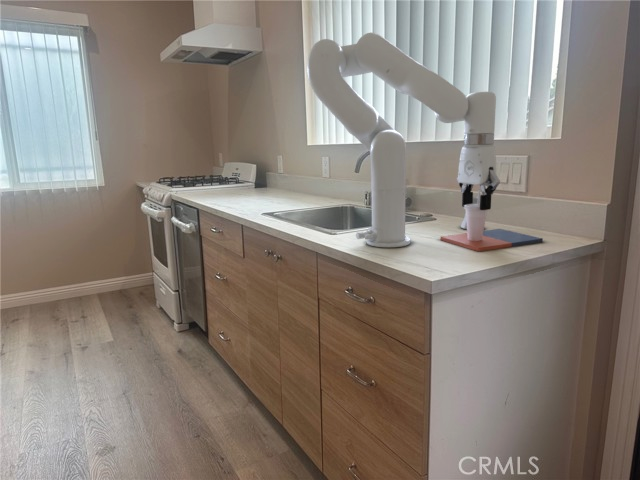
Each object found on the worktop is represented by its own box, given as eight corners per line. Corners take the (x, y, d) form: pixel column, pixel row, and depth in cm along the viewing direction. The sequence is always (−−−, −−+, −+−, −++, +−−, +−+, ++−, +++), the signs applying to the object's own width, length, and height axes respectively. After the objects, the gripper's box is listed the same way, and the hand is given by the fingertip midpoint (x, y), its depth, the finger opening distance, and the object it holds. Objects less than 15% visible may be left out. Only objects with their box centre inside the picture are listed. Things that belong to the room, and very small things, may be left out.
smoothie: (484, 242, 116) (486, 190, 113) (460, 240, 120) (462, 190, 116) (489, 238, 121) (491, 188, 118) (465, 236, 125) (467, 187, 122)
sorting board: (478, 251, 111) (478, 247, 111) (440, 239, 126) (440, 236, 126) (542, 241, 119) (542, 238, 119) (499, 231, 134) (499, 228, 133)
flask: (485, 230, 137) (487, 198, 134) (461, 230, 138) (462, 199, 136) (481, 225, 144) (483, 196, 141) (459, 225, 145) (460, 196, 143)
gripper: (446, 142, 121) (444, 205, 125) (491, 141, 105) (487, 213, 109) (468, 141, 124) (466, 203, 128) (514, 139, 108) (510, 210, 112)
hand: (476, 207), depth 118 cm, fingers closed on smoothie, 6 cm apart
